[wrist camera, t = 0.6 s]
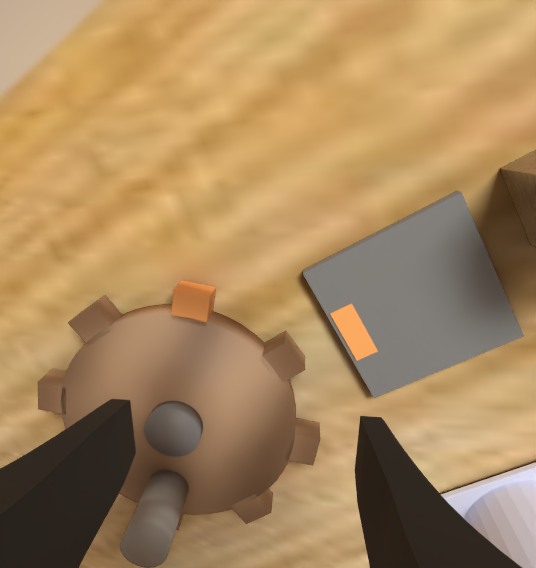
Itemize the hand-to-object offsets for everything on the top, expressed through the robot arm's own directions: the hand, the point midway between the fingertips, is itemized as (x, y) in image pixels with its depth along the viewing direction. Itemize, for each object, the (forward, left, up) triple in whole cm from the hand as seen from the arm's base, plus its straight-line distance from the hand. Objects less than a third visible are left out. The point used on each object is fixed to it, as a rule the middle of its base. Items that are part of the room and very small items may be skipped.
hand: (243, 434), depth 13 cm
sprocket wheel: (-3, +7, -10) cm, 13 cm away
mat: (-3, -7, -10) cm, 12 cm away
